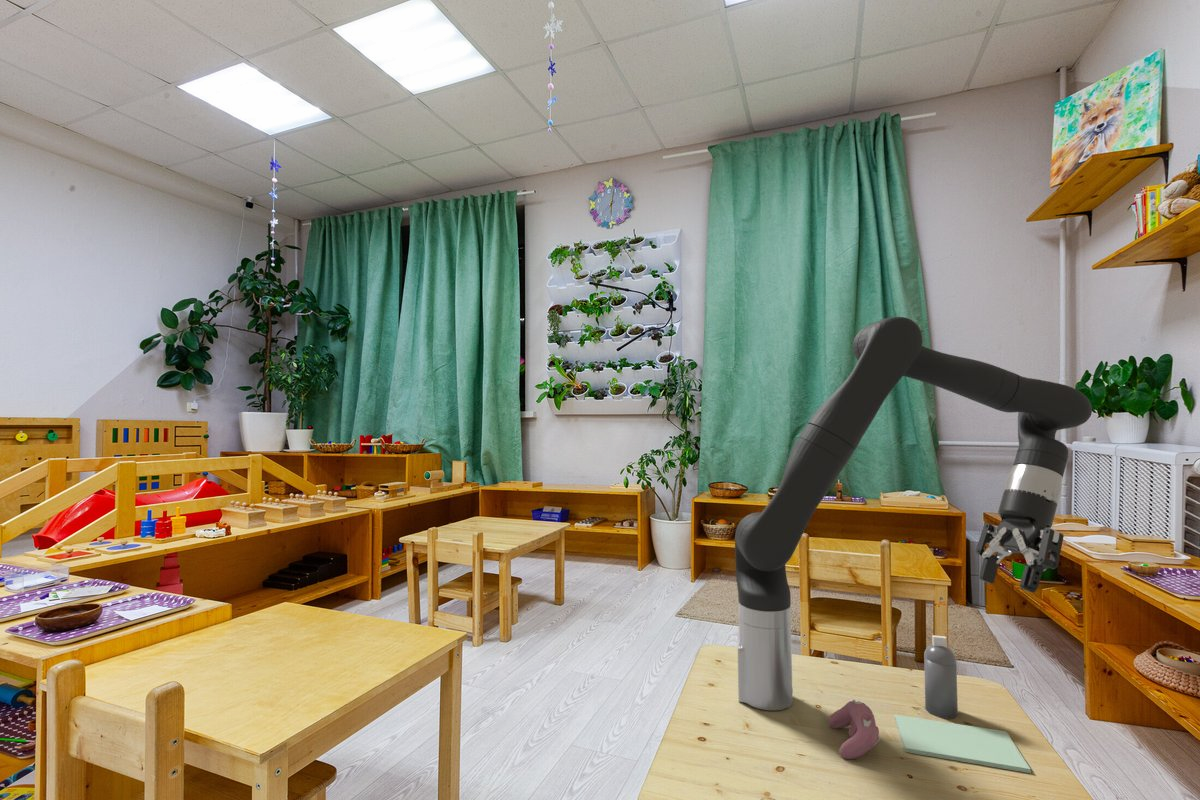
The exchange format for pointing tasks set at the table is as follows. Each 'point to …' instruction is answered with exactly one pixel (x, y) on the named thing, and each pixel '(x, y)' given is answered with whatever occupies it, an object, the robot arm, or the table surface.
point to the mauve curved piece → (856, 728)
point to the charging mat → (960, 743)
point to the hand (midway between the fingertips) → (1005, 585)
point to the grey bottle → (940, 679)
